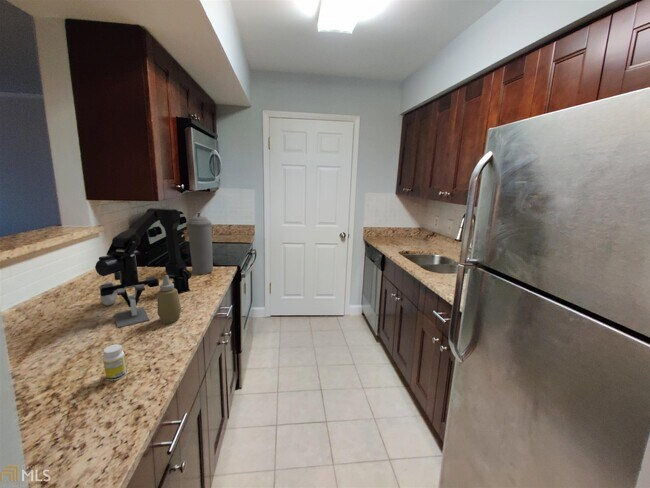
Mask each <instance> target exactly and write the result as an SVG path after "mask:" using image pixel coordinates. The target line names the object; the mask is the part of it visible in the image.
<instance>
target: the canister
mask: <svg viewBox="0 0 650 488" xmlns="http://www.w3.org/2000/svg"><path fill="white" fill-rule="evenodd" d="M196 214H197V216H192V217H191V218H190V219H189V221H188V222H187V224H186V226H187V231H188V241H189V252H190V253H189V254H190V260H191V269H192V273H193V274H194V275H197V276H198V275H200V276H201V275H207V274H211V273H212V272H213V271H214V263H213V261H214V260H213V237H212V236H213V235H212V233H213V231H212V230H213V229H212V224H213V223H212V221H210V220H209V218H208V217H206V216H201V214H202V211H200V212H199V211H197V212H196Z"/></svg>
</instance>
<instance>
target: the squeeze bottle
mask: <svg viewBox="0 0 650 488" xmlns="http://www.w3.org/2000/svg"><path fill="white" fill-rule="evenodd" d="M181 306H182V305H181V301H180V296H179V293H178V291H177V289H175V288H174V284H173V283H172V282H171V279H169V276H168V275H167V274H165V275H163V282H162V284H159V291H158V292H157V310H156V311H157V313H156V314H157V315H158V317H159V319H160V321H161V323H163V324H171V323H175V322H178V320H179V318H180V316H181V312H182V307H181Z"/></svg>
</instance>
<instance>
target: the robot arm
mask: <svg viewBox="0 0 650 488" xmlns="http://www.w3.org/2000/svg"><path fill="white" fill-rule="evenodd" d="M157 220H159V223H160V225H161V226H162V228H163V229H164V231H165V239H166V246H167V253H168V261H167V263H164V268H165V271H164V272H165V273H166V275H168V277H169V280H172V281H171V283H173V284H174V288H175V289H177V291H178V294H179V293H184V292H185V293H186V292H189V291H191V289H190V285H189V283H190V282H189V280H190V279H191V278H192V273H193V272H191V271H190V270H189V269H188V268H187V266H186V265H187V264H186V262H185V261H184V260H183V258H182V254H181V248H180V240H179V231H178V228H179V225H180V223H181V213H180V210H178V209H176V208H175V209H174V208H173V209H172V208H156V207H150V208H147V210H146V212H145V213H144V214H143V215H142V216H141V217H140V218H139V219H138V220H137V221H136V222H135V223H134V224H132V226H130V228H128V229H127V230H124V231H121V232H120V233H118V234H117V235H115V236H114V237H113V238H112V240H111V244H110V246H109V248H108V250H107V251H106V255H105V256H99V257H98V260H97V262H96V263H95V266H94V268H95V271H96V273H97V274H98V275H99V276H101V277H106V276H110V275H112V274H113V275H114V281H119V282H120V284H115V285H114V286H113V284H112V283H110V284H105V283H103V284H101V285H100V286H99V291H100V292H99V294H100V293H101V296H106V295H112V294H113V293H114V291H115V290H116V292H117V296H121V297H122V298H123V299H124V300H125V302H126V304H127V306H128V307H129V308H130V302H129V298H128V295H129V294H128V293H127V290H126V289H131V288H134V298H135V300H136V307H137V306H138V303H139V300H140V297H141V295H142V293H143V291H146V288H145V286H147V287H149V288H154V287H160V282H159V279H158V277H156V276H155V275H154V276H153V275H152V276H147V277H145V278H144V280H139V274H138V266H137V256H138V255H140V254H141V252H140V251H139V250H137V248H138V246H139V245H140V244H141V241H142V240H141V239H142V236H143V235H144V234H145V233H146V232H148V230H149V229H150V228H151V227H152V226H153V225H154V224H155V222H157Z"/></svg>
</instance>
